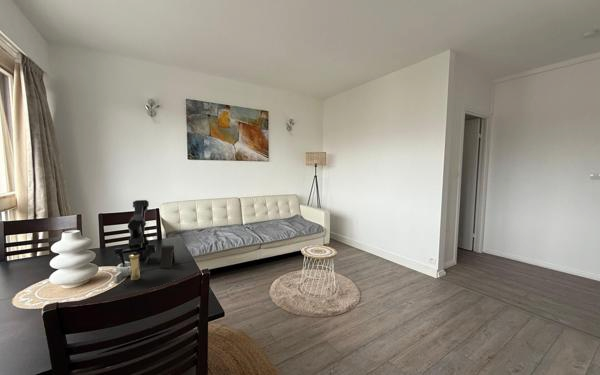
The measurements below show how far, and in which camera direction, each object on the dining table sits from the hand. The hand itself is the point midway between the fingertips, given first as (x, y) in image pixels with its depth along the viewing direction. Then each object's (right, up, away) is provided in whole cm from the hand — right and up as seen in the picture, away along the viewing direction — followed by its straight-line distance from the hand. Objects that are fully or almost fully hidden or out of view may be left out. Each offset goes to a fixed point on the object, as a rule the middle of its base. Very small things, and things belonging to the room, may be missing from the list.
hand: (134, 265), depth 130 cm
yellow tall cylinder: (0, -7, +1) cm, 8 cm away
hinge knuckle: (-9, -6, +7) cm, 14 cm away
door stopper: (+8, -6, +18) cm, 21 cm away
